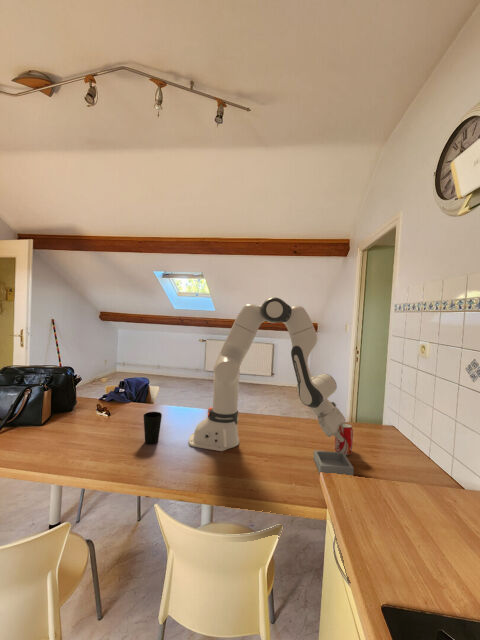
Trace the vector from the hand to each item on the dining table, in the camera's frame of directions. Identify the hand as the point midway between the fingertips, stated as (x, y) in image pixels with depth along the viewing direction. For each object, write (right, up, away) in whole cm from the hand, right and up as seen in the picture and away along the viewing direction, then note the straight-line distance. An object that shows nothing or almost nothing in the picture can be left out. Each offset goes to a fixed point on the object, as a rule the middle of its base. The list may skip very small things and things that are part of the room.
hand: (345, 438), depth 125 cm
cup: (-84, -3, +3) cm, 84 cm away
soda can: (-1, -7, +1) cm, 7 cm away
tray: (-9, -7, -12) cm, 16 cm away
